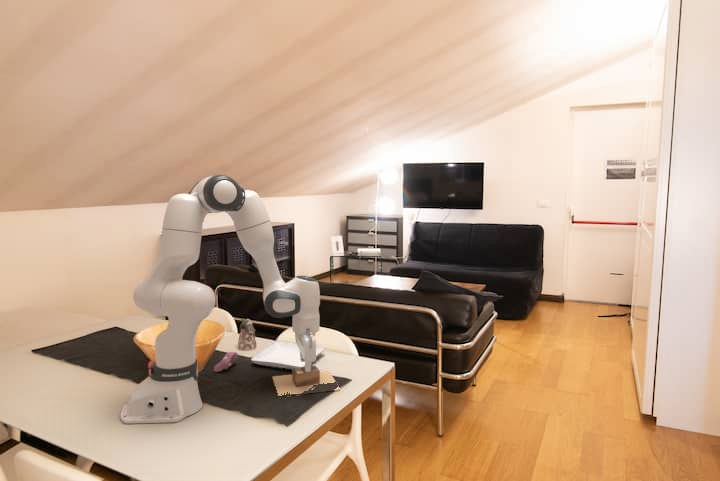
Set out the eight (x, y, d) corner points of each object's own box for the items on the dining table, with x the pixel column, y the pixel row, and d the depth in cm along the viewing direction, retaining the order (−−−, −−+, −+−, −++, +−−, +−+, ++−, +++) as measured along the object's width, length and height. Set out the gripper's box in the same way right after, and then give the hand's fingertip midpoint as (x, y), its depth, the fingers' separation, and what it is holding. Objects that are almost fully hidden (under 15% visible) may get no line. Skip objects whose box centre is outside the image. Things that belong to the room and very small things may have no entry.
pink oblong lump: (222, 377, 181) (230, 361, 180) (211, 371, 182) (219, 354, 180) (234, 367, 191) (242, 351, 189) (223, 361, 191) (231, 345, 190)
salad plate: (303, 375, 181) (303, 366, 180) (249, 367, 187) (249, 358, 187) (325, 355, 201) (325, 347, 200) (276, 349, 207) (276, 340, 207)
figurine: (247, 352, 202) (247, 322, 201) (234, 348, 206) (233, 319, 204) (260, 347, 208) (259, 318, 207) (246, 343, 212) (246, 315, 211)
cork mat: (278, 397, 162) (278, 395, 162) (272, 377, 178) (272, 376, 178) (340, 390, 168) (340, 389, 168) (329, 372, 183) (329, 371, 183)
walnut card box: (319, 383, 172) (319, 370, 171) (296, 387, 169) (296, 373, 168) (315, 378, 177) (315, 364, 176) (292, 381, 174) (292, 367, 173)
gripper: (321, 333, 160) (320, 376, 162) (310, 316, 180) (309, 355, 181) (301, 334, 159) (300, 378, 160) (292, 317, 178) (291, 356, 180)
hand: (305, 365), depth 171 cm, fingers open, 8 cm apart
